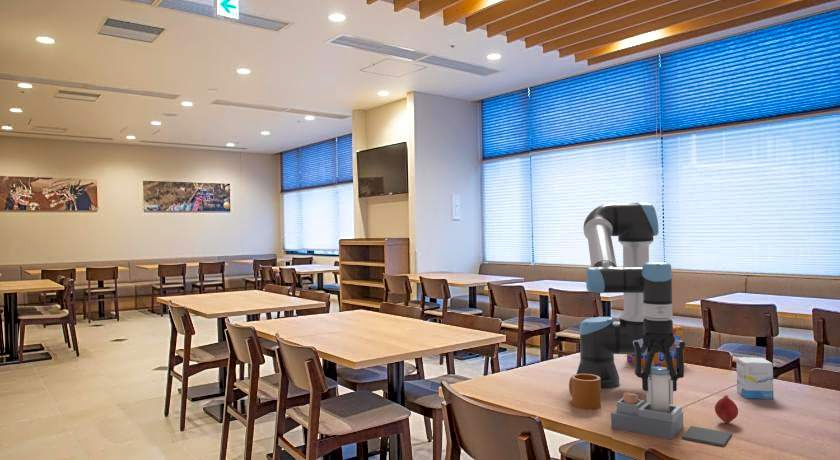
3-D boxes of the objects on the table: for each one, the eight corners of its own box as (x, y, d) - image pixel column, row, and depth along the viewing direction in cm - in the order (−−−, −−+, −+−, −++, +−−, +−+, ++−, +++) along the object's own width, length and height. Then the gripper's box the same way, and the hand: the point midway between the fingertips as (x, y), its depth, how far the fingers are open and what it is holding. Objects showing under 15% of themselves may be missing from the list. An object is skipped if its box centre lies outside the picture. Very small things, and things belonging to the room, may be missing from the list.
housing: (611, 427, 162) (610, 404, 162) (625, 416, 171) (625, 394, 171) (671, 439, 152) (671, 414, 152) (683, 426, 161) (682, 403, 161)
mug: (586, 397, 191) (586, 370, 191) (606, 408, 180) (606, 379, 180) (561, 399, 189) (561, 372, 189) (580, 410, 178) (580, 381, 178)
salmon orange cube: (622, 408, 164) (621, 394, 164) (626, 405, 167) (626, 391, 167) (635, 411, 162) (634, 396, 162) (639, 407, 165) (638, 393, 165)
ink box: (774, 399, 185) (773, 363, 185) (745, 398, 187) (744, 362, 187) (764, 392, 193) (763, 357, 193) (736, 391, 195) (735, 356, 195)
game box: (654, 357, 248) (653, 321, 248) (684, 365, 233) (683, 326, 233) (626, 361, 241) (625, 324, 242) (655, 369, 227) (654, 329, 227)
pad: (681, 438, 152) (681, 436, 152) (691, 428, 160) (691, 425, 160) (723, 446, 146) (723, 444, 146) (731, 435, 154) (731, 433, 154)
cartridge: (647, 409, 163) (646, 366, 163) (667, 409, 162) (666, 366, 162) (652, 415, 157) (651, 371, 157) (673, 415, 157) (672, 371, 157)
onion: (710, 420, 166) (710, 392, 166) (729, 419, 167) (729, 391, 167) (723, 426, 160) (722, 398, 160) (742, 425, 161) (742, 397, 161)
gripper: (626, 320, 157) (628, 406, 157) (696, 320, 155) (698, 407, 155) (621, 316, 165) (623, 397, 165) (687, 316, 162) (689, 399, 162)
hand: (659, 402), depth 160 cm, fingers closed on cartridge, 5 cm apart
